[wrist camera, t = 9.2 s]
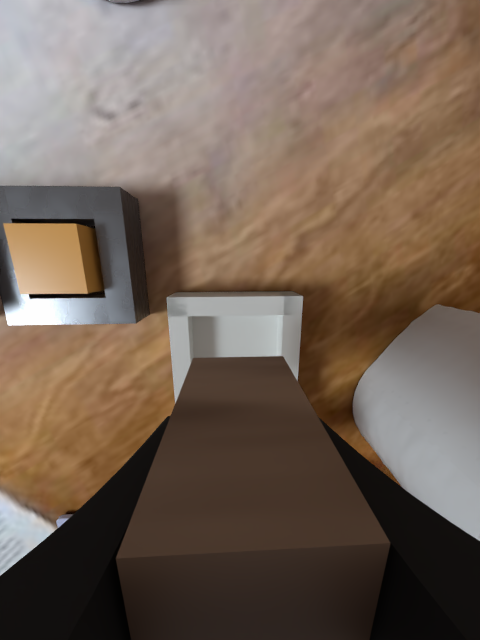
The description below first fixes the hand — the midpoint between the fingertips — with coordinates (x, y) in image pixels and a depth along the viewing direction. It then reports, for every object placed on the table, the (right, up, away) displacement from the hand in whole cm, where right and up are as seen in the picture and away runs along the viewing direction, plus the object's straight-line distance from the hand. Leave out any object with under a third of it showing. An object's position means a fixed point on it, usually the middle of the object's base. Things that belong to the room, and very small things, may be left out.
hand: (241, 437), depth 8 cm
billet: (0, +1, +2) cm, 2 cm away
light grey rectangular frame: (0, -1, +10) cm, 10 cm away
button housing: (-10, +8, +7) cm, 15 cm away
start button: (-10, +8, +7) cm, 15 cm away
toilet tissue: (+14, -2, +11) cm, 18 cm away
